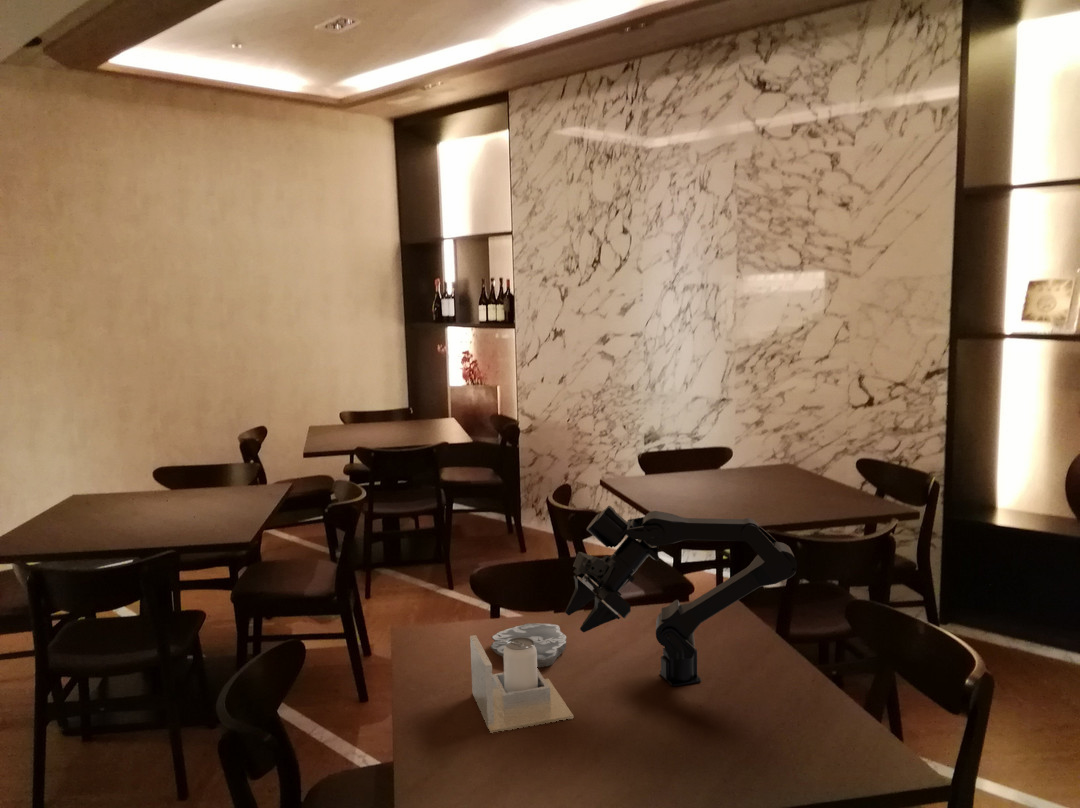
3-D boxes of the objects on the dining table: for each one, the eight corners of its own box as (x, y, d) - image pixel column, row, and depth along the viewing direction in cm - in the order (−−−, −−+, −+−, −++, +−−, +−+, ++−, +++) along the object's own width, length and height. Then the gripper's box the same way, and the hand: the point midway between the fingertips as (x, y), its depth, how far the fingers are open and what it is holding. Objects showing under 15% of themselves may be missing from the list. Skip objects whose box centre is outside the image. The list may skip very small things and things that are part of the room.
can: (520, 713, 151) (518, 653, 150) (498, 702, 156) (496, 643, 154) (545, 701, 155) (543, 642, 154) (523, 690, 160) (521, 633, 159)
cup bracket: (548, 681, 165) (546, 622, 164) (573, 718, 150) (571, 654, 148) (471, 693, 161) (469, 634, 159) (489, 733, 145) (486, 668, 144)
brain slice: (495, 635, 190) (494, 623, 189) (567, 635, 189) (566, 622, 188) (486, 673, 170) (486, 660, 170) (566, 672, 169) (566, 659, 169)
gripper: (581, 526, 169) (533, 583, 168) (614, 551, 152) (560, 615, 150) (616, 558, 172) (569, 614, 171) (653, 586, 155) (600, 649, 153)
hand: (574, 622), depth 161 cm, fingers open, 9 cm apart
